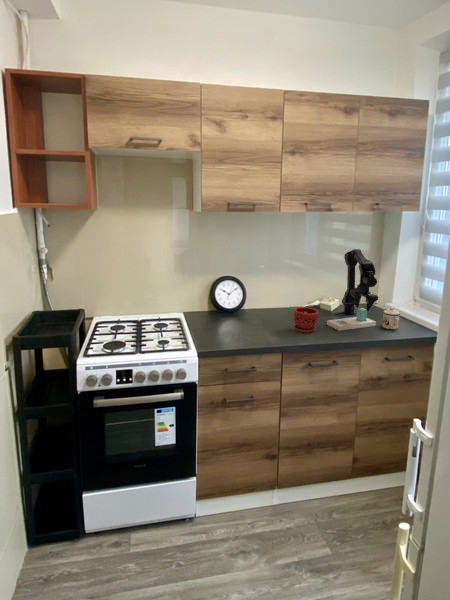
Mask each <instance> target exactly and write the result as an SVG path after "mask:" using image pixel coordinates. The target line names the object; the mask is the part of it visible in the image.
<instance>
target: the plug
mask: <svg viewBox="0 0 450 600" xmlns="http://www.w3.org/2000/svg"><path fill="white" fill-rule="evenodd" d="M367 316H368V311H367V309H366V308H364V307H360V308H357V310H356V317H357V318H356V320H358V321H360V322H362V321H366V318H368V317H367Z"/></svg>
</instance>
